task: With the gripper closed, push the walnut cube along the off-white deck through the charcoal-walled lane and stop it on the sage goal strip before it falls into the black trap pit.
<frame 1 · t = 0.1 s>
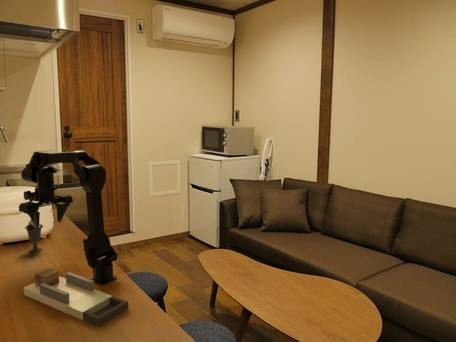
hand: (48, 225, 145), 15 cm above the worktop, tool pointing down, fingers open, 9 cm apart
deck: (66, 298, 121), on the worktop
lane walls: (68, 299, 121), resting on deck
sundae: (35, 250, 159), on the worktop
trap pit: (106, 314, 112), on the worktop
walnut block: (47, 283, 125), point 2 cm above the worktop, touching deck
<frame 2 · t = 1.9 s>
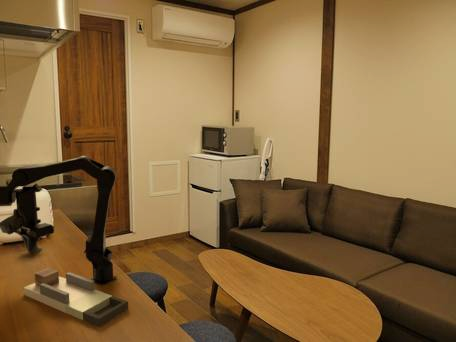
hand: (30, 251, 127), 12 cm above the worktop, tool pointing down, fingers closed
nothing on the worktop moved.
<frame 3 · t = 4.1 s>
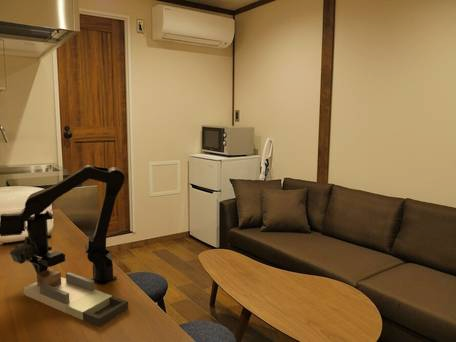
hand: (41, 278, 126), 4 cm above the worktop, tool pointing down, fingers closed
walnut block: (49, 284, 124), point 3 cm above the worktop, touching deck, gripper
everything else where it was.
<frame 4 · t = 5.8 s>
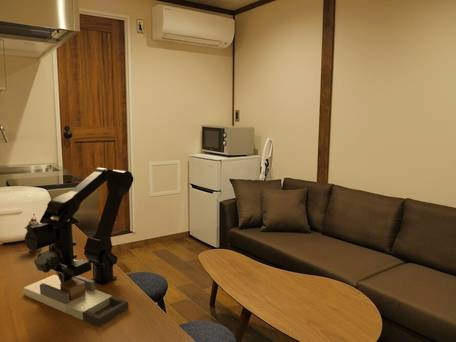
hand: (65, 287, 120), 4 cm above the worktop, tool pointing down, fingers closed
walnut block: (73, 295, 118), point 3 cm above the worktop, touching gripper
everything else where it was.
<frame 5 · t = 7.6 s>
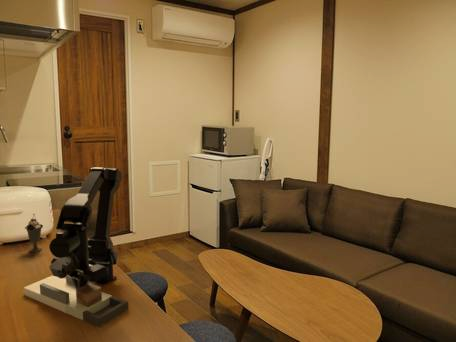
hand: (80, 293, 117), 4 cm above the worktop, tool pointing down, fingers closed
walnut block: (89, 301, 115), point 2 cm above the worktop, touching deck, gripper
everything else where it was.
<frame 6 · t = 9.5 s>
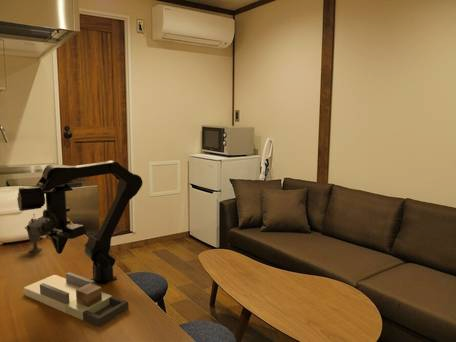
hand: (59, 253, 123), 13 cm above the worktop, tool pointing down, fingers closed
walnut block: (89, 301, 115), point 2 cm above the worktop, touching deck
everything else where it was.
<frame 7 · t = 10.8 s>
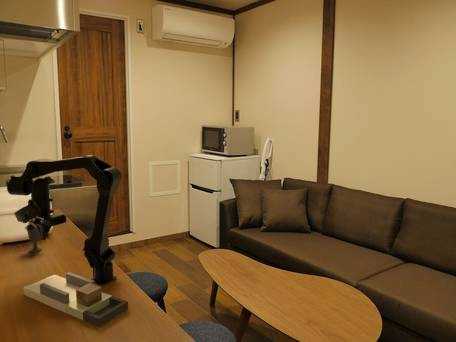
hand: (43, 239, 135), 13 cm above the worktop, tool pointing down, fingers closed
nothing on the worktop moved.
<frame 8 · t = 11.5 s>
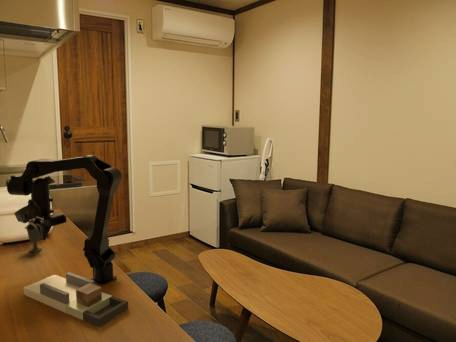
hand: (43, 239, 135), 13 cm above the worktop, tool pointing down, fingers closed
nothing on the worktop moved.
at the end: walnut block 0.4 cm from the target spot, point 2.5 cm above the worktop; walnut block tilted 0°; walnut block touching deck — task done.
